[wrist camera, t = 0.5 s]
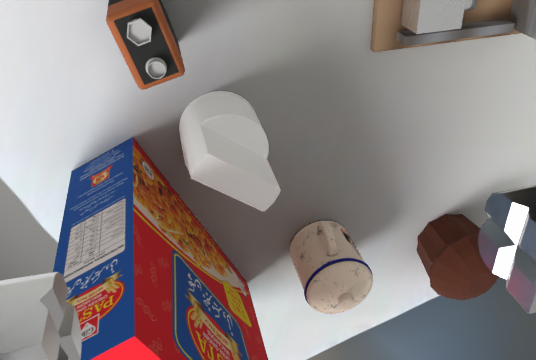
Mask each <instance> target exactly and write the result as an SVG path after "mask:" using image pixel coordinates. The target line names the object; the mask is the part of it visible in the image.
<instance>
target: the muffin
mask: <svg viewBox="0 0 536 360" xmlns="http://www.w3.org/2000/svg"><path fill="white" fill-rule="evenodd" d="M479 231H480V228H479V227H477V226H476V225H475V224H474V223H472V222H471V221H470V220H468V219H467V218H466V217H464V216H463V215H462V214H458V215H450V214H445V215H443V216H441V217H440V218H438V219H436V220H434V221H431V222H429V223H428V224H427V226H426V227H425V229H424V230H423V231H422V232H421V233H420V235H419V236H418V246H417V252H418V254H419V256H420V258H421V261H422V263H423V265H424V267H425V269H426V271H427V273H428V276H429V278H430V284H431V287H432V288H433V289H434V290H435V292H436V293H437V294H438V295H442V296H444V297H447V298H452V299H457V300H466V299H471V298H475V297H477V296H479V295H481V294H483V293H485V292H486V291H488V290H489V289H490V288H491V287H492V286H493V284H495V283H496V281H497V279H498V277H499V276H498V275H496V274H494V273H492V272H491V270H490V269H489V268H488V267H487V266H486V265H485V263H484V261H483V259H482V257H481V255H480V252H479V246H478V237H479Z"/></svg>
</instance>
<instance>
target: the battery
mask: <svg viewBox="0 0 536 360" xmlns="http://www.w3.org/2000/svg"><path fill="white" fill-rule="evenodd" d="M106 21H107V24H108V26H109V28H110V30H111V32H112V34H113V37H114V39H115V41H116V43H117V45H118V47H119V49H120V51H121V53H122V55H123V57H124V59H125V61H126V63H127V65H128V67H129V69H130V71H131V73H132V75H133V77H134V79H135V81H136V83H137V85H138V87H139V88H140V89H147V88H150V87H152V86H155V85H158V84H160V83H163V82H166V81H168V80H171V79H174V78H176V77H179V76H182V75H183V74H184V72H185V69H184V64H183V61H182V57H181V53H180V49H179V45H178V41H177V38H176V36H175V33H174V31H173V28H172V26H171V23H170V21H169V19H168V16H167V14H166V11H165V9H164V6H163V4H162V2H161V0H109V4H108V11H107V18H106Z"/></svg>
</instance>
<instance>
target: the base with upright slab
mask: <svg viewBox="0 0 536 360" xmlns="http://www.w3.org/2000/svg"><path fill="white" fill-rule="evenodd" d="M179 132H180V139H181V144H182V150H183V156H184V161H185V165H186V167H187V169H188V171H189V173H190V177H191V179H193V180H195V181H197V182H199V183H201V184H203V185H205V186H208V187H210V188H212V189H215V190H217V191H219V192H221V193H223V194H225V195H228V196H230V197H232V198H234V199H236V200H238V201H241V202H243V203H245V204H247V205H249V206H252V207H254V208H256V209H258V210H260V211H262V212H264V211H266V210H267V209H268V208H269V207H270V206H271V205H272V204H273V203H274V202H275V200H276V198H277V197H278V195H279V193H280V191H281V189H280V187H279V184H278V182H277V180H276V178H275V176H274V173H273V171H272V169H271V167H270V164H269V162H268V160H267V157H268V153H269V143H268V140H267V137H266V134H265V132H264V130H263V128H262V126H261V123H260V121H259V119H258V117H257V115H256V113H255V111H254V109H253V108H252V106H251V105H250V104H249V102H248V101H246V100H245V99H244V98H243V97H241V96H240V95H237V94H235V93H232V92H227V91H213V92H209V93H206V94H203V95H200V96H199V97H197V98H196V99H195V100H193V101H192V102H191V103H190V104H189V105H188V106H187V107H186V108H185V110H184V112H183V114H182V116H181V118H180V124H179Z"/></svg>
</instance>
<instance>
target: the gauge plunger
mask: <svg viewBox="0 0 536 360" xmlns="http://www.w3.org/2000/svg"><path fill="white" fill-rule="evenodd" d="M477 2H478V0H403V9H402V19H401V25H403V26H404V27H406V28H408V29H409V30H411V31H412V32H414V33H416V34H422V33H430V32H438V31H446V30H454V29H461V26H462V20H463V14H464V11H465V10H473V9H475V8H476V6H477Z"/></svg>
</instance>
